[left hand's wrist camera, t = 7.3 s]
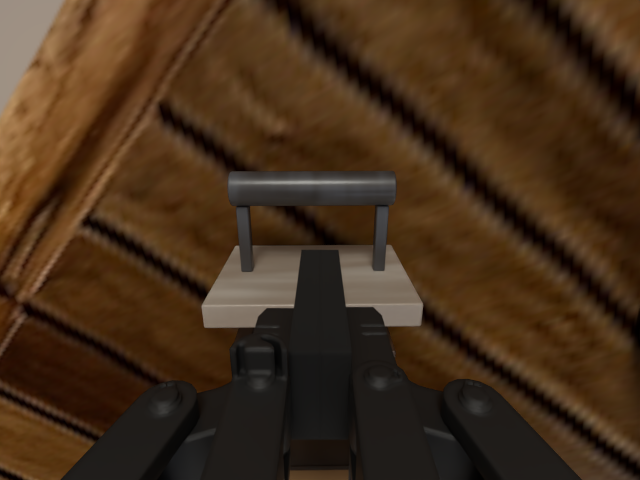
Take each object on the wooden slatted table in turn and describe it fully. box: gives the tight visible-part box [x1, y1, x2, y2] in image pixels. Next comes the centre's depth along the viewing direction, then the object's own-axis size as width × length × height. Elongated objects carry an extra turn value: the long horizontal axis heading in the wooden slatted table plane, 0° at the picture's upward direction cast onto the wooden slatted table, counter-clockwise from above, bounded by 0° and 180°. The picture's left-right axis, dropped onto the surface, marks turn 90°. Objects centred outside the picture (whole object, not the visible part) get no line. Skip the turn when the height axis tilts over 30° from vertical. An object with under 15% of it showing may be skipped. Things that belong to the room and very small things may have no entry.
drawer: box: [202, 171, 423, 470], centre depth 22 cm, size 24×10×7 cm, turn 0°
